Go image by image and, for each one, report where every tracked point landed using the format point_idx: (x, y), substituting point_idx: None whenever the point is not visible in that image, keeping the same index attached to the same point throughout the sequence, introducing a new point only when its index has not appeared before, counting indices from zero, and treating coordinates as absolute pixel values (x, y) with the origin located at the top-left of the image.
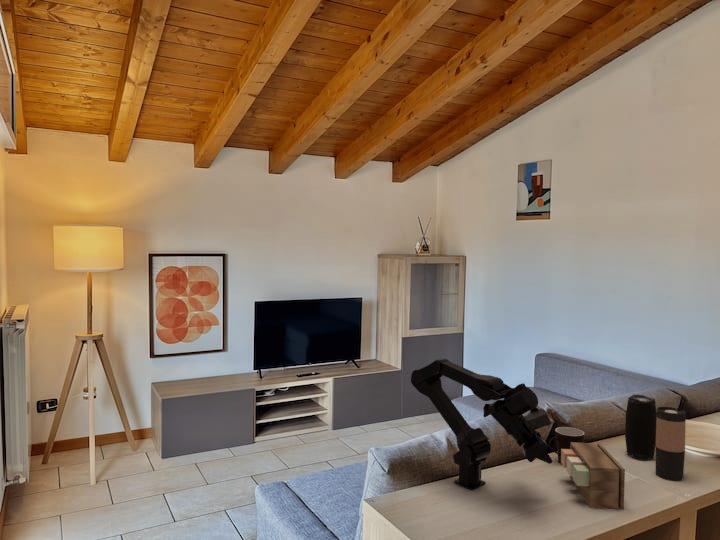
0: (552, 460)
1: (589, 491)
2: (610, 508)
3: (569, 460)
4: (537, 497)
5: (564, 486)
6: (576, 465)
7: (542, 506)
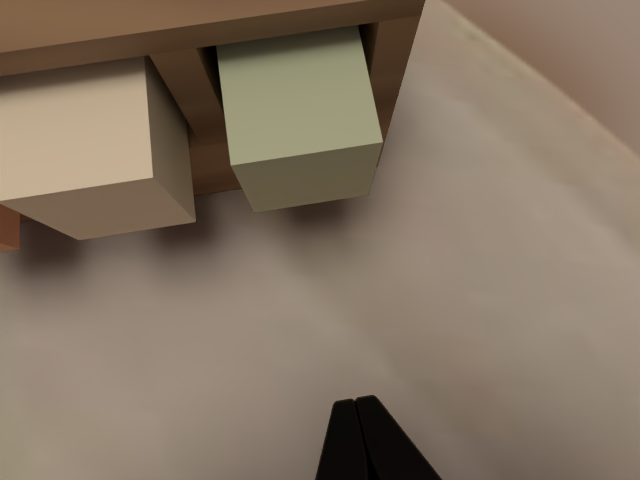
0: (377, 401)
1: None
2: None
3: (102, 187)
4: None
5: (115, 275)
6: (241, 135)
7: (455, 441)
